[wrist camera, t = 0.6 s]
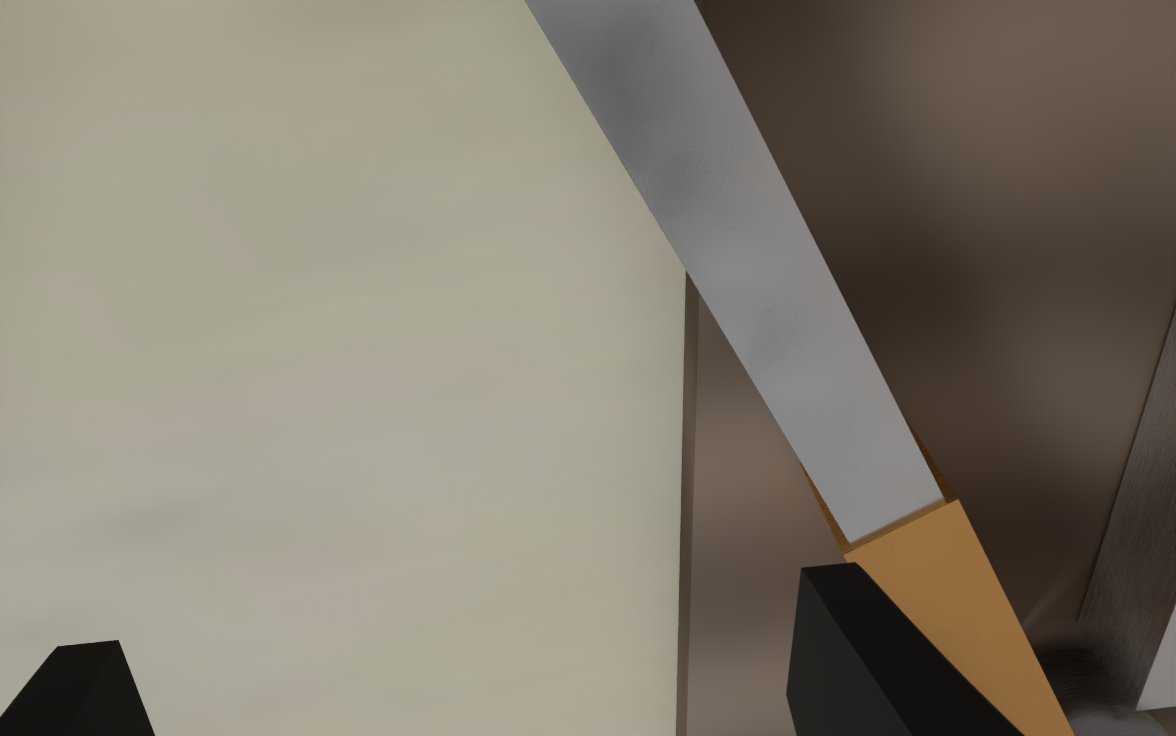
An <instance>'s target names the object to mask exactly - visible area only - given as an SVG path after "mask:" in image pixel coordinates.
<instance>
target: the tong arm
mask: <svg viewBox="0 0 1176 736" xmlns="http://www.w3.org/2000/svg"><path fill="white" fill-rule="evenodd" d="M525 2H526V3H527V5H528V7H529V8H530V10H531V12H532V13H533V15H534V17H535V18H536V20H537V22H538V23H539V25H540V27H541V28H542V30H543V32H544V33H545V35H546V37H547V38H548V40H549V42H550V43H551V45H552V47H553V48H554V50H555V52H556V53H557V55H558V57H559V58H560V60H561V62H562V63H563V65H564V67H565V68H566V70H567V72H568V73H569V75H570V77H571V78H572V80H573V82H574V83H575V85H576V87H577V88H578V90H579V92H580V94H581V95H582V97H583V99H584V100H585V102H586V104H587V105H588V107H589V109H590V110H591V112H592V114H593V115H594V117H595V119H596V120H597V122H598V124H599V125H600V127H601V129H602V130H603V132H604V134H605V135H606V137H607V139H608V140H609V142H610V144H611V145H612V147H613V149H614V150H615V152H616V154H617V155H618V157H619V159H620V160H621V162H622V164H623V165H624V167H625V169H626V170H627V172H628V174H629V175H630V177H631V179H632V180H633V182H634V184H635V185H636V187H637V189H638V190H639V192H640V194H641V195H642V197H643V199H644V200H645V202H646V204H647V205H648V207H649V209H650V211H651V212H652V214H653V216H654V217H655V219H656V221H657V222H658V224H659V226H660V227H661V229H662V231H663V232H664V234H665V236H666V237H667V239H668V241H669V242H670V244H671V246H672V247H673V249H674V251H675V252H676V254H677V256H678V257H679V259H680V261H681V262H682V264H683V266H684V267H685V269H686V271H687V272H688V274H689V276H690V277H691V279H692V281H693V282H694V284H695V286H696V287H697V289H698V291H699V292H700V294H701V296H702V297H703V299H704V301H705V302H706V304H707V306H708V307H709V309H710V311H711V312H712V314H713V316H714V317H715V319H716V321H717V322H718V324H719V326H720V328H721V329H722V331H723V333H724V334H725V336H726V338H727V339H728V341H729V343H730V344H731V346H732V348H733V349H734V351H735V353H736V354H737V356H738V358H739V359H740V361H741V363H742V364H743V366H744V368H745V369H746V371H747V373H748V374H749V376H750V378H751V379H752V381H753V383H754V384H755V386H756V388H757V389H758V391H759V393H760V394H761V396H762V398H763V399H764V401H765V403H766V404H767V406H768V408H769V409H770V411H771V413H772V414H773V416H774V418H775V419H776V421H777V423H778V424H779V426H780V428H781V429H782V431H783V433H784V434H785V436H786V438H787V439H788V441H789V443H790V445H791V446H792V448H793V450H794V451H795V453H796V455H797V456H798V458H799V460H800V462H799V463H800V465H801V467H802V469H803V471H804V473H805V476H806V478H807V480H808V482H809V484H810V486H811V488H812V490H813V493H814V495H815V497H816V499H817V501H818V503H819V505H820V507H821V509H822V512H823V514H824V516H825V518H826V520H827V522H828V524H829V526H830V529H831V531H832V533H833V535H834V537H835V539H836V541H837V543H838V546H839V548H840V550H841V552H842V554H843V556H844V558H845V559H846V561H847V563H850V562H856V563H857V564H858V565H859V566H861V567H862V568H863V569H864V570H865V571H866V572H867V573H868V574H869V575H870V577H871V578H872V579H873V580H874V581H875V582H876V583H877V584H878V585H879V586H880V588H881V589H882V590H883V591H884V592H885V593H886V594H887V595H888V596H889V597H890V599H891V600H892V601H893V602H894V603H895V604H896V605H897V606H898V607H899V608H900V609H901V611H902V612H903V613H904V614H905V615H906V616H907V617H908V618H909V619H910V620H911V621H912V622H913V623H914V625H915V626H916V627H917V628H918V629H919V630H920V631H921V632H922V633H923V634H924V635H925V636H926V637H927V638H928V639H929V640H930V641H931V643H932V644H933V645H934V646H935V647H936V648H937V649H938V650H939V651H940V652H941V653H942V654H943V655H944V656H945V657H946V658H947V659H948V660H949V661H950V662H951V663H952V664H953V665H954V666H955V667H956V669H957V670H958V671H959V672H960V673H961V674H962V675H963V676H964V677H965V678H966V679H967V680H968V681H969V682H970V683H971V684H972V685H973V686H974V687H975V688H976V689H977V690H978V691H980V692H981V693H982V694H983V695H984V696H985V697H986V698H987V699H988V700H989V701H990V702H991V703H992V704H993V705H994V706H995V707H996V708H997V709H998V710H999V711H1000V712H1001V713H1002V714H1003V715H1004V716H1005V717H1006V718H1007V719H1008V720H1009V721H1010V722H1011V723H1012V724H1013V725H1014V726H1015V727H1016V728H1017V729H1018V730H1020V731H1021V732H1022V733H1023V734H1024V735H1025V736H1169V735H1168V733H1167V732H1166V731H1165V729H1164V728H1163V726H1162V725H1161V723H1160V722H1159V721H1158V719H1157V718H1156V716H1155V715H1154V713H1153V712H1152V711H1151V709H1149V710H1141V711H1134V709H1133V708H1132V706H1131V705H1130V703H1129V702H1128V700H1127V699H1126V697H1125V696H1124V694H1123V693H1122V692H1121V690H1120V689H1119V687H1118V686H1117V684H1116V683H1115V681H1114V680H1113V678H1112V677H1111V675H1110V674H1109V673H1108V671H1107V670H1106V668H1105V667H1104V665H1103V664H1102V662H1101V661H1100V659H1099V658H1098V657H1097V655H1096V654H1095V652H1094V651H1093V649H1089V648H1068V649H1061V650H1056V651H1052V652H1048V653H1045V654H1042V655H1039V656H1037V657H1036V656H1035V654H1034V652H1033V650H1032V648H1031V646H1030V644H1029V642H1028V640H1027V638H1026V635H1025V633H1024V631H1023V629H1022V627H1021V625H1020V623H1019V621H1018V619H1017V617H1016V615H1015V613H1014V611H1013V609H1012V607H1011V605H1010V603H1009V601H1008V599H1007V597H1006V595H1005V593H1004V591H1003V589H1002V587H1001V585H1000V583H999V581H998V579H997V577H996V575H995V573H994V570H993V568H992V566H991V564H990V562H989V560H988V558H987V556H986V554H985V552H984V550H983V548H982V546H981V544H980V542H979V540H978V538H977V536H976V534H975V532H974V530H973V528H972V526H971V524H970V522H969V520H968V518H967V516H966V514H965V512H964V510H963V508H962V505H961V503H960V501H959V499H958V498H957V496H956V495H955V493H954V492H953V490H952V488H951V487H950V485H949V484H948V482H947V481H946V479H945V478H944V476H943V475H942V473H941V471H940V470H939V468H938V467H937V465H936V464H935V462H934V461H933V459H932V458H931V456H930V454H929V453H928V451H927V450H926V448H925V447H924V445H923V444H922V442H921V440H920V439H919V437H918V436H917V434H916V433H915V431H914V430H913V428H912V427H911V425H910V423H909V422H908V420H907V419H906V417H905V416H904V414H903V413H902V411H901V410H900V409H899V407H898V405H897V404H896V402H895V400H894V398H893V396H892V394H891V392H890V390H889V388H888V386H887V384H886V382H885V380H884V378H883V376H882V374H881V372H880V370H879V368H878V366H877V364H876V362H875V360H874V358H873V356H872V354H871V352H870V350H869V348H868V346H867V344H866V342H865V340H864V338H863V336H862V334H861V332H860V330H859V328H858V326H857V324H856V322H855V320H854V318H853V316H852V314H851V312H850V310H849V308H848V306H847V304H846V302H845V300H844V298H843V296H842V294H841V292H840V290H839V288H838V286H837V284H836V282H835V280H834V278H833V276H832V274H831V272H830V270H829V268H828V266H827V264H826V262H825V260H824V258H823V256H822V254H821V252H820V250H819V248H818V246H817V244H816V242H815V241H814V239H813V237H812V235H811V233H810V231H809V229H808V227H807V225H806V223H805V221H804V219H803V217H802V215H801V213H800V211H799V209H798V207H797V205H796V203H795V201H794V199H793V197H792V195H791V193H790V191H789V189H788V187H787V185H786V183H785V181H784V179H783V177H782V175H781V173H780V171H779V169H778V167H777V165H776V163H775V161H774V159H773V157H772V155H771V153H770V151H769V149H768V147H767V145H766V143H765V141H764V139H763V137H762V135H761V133H760V131H759V129H758V127H757V125H756V123H755V121H754V119H753V117H752V115H751V113H750V111H749V109H748V107H747V105H746V103H745V101H744V99H743V97H742V95H741V93H740V91H739V89H738V87H737V85H736V83H735V81H734V79H733V78H732V76H731V74H730V72H729V70H728V68H727V66H726V64H725V62H724V60H723V58H722V56H721V54H720V52H719V50H718V48H717V46H716V44H715V42H714V40H713V38H712V36H711V34H710V32H709V30H708V28H707V26H706V24H705V22H704V20H703V18H702V16H701V14H700V12H699V10H698V8H697V6H696V4H695V2H694V0H525Z"/></svg>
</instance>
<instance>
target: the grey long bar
mask: <svg viewBox="0 0 1176 736" xmlns="http://www.w3.org/2000/svg"><path fill="white" fill-rule="evenodd" d="M1076 626H1077V627H1078V629H1079V630H1080V632H1081V633H1082V635H1083V636H1084V638H1085V639H1086V640H1087V642H1088V643H1089V645H1090V646H1091V648H1092V649H1093V651H1094V652H1095V654H1096V655H1097V657H1098V658H1099V659H1100V661H1101V662H1102V664H1103V665H1104V667H1105V668H1106V670H1107V671H1108V673H1109V674H1110V675H1111V677H1112V678H1113V680H1114V681H1115V683H1116V684H1117V686H1118V687H1119V689H1120V690H1121V692H1122V693H1123V694H1124V696H1125V697H1126V699H1127V700H1128V702H1129V703H1130V705H1131V706H1132V708H1133V709H1134V711H1141V710H1149V709H1157V708H1165V707H1173V706H1176V310H1175V313H1174V316H1173V319H1172V322H1171V326H1170V329H1169V332H1168V335H1167V338H1166V342H1165V345H1164V348H1163V351H1162V354H1161V358H1160V361H1159V364H1158V367H1157V370H1156V373H1155V377H1154V380H1153V383H1152V386H1151V389H1150V393H1149V396H1148V399H1147V402H1146V405H1145V409H1144V412H1143V415H1142V418H1141V421H1140V424H1139V428H1138V431H1137V434H1136V437H1135V440H1134V444H1133V447H1132V450H1131V453H1130V456H1129V460H1128V463H1127V466H1126V469H1125V472H1124V475H1123V479H1122V482H1121V485H1120V488H1119V491H1118V495H1117V498H1116V501H1115V504H1114V507H1113V511H1112V514H1111V517H1110V520H1109V523H1108V526H1107V530H1106V533H1105V536H1104V539H1103V542H1102V546H1101V549H1100V552H1099V555H1098V558H1097V562H1096V565H1095V568H1094V571H1093V574H1092V577H1091V581H1090V584H1089V587H1088V590H1087V593H1086V597H1085V600H1084V603H1083V606H1082V609H1081V613H1080V616H1079V619H1078V622H1077V625H1076Z"/></svg>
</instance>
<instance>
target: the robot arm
mask: <svg viewBox="0 0 1176 736" xmlns="http://www.w3.org/2000/svg"><path fill="white" fill-rule="evenodd" d="M786 696H787V700H788V704H789V708H790V712H791V716H792V720H793V724H794V727H795V731H796V735H797V736H1025V735H1024V734H1023V733H1022V732H1021V731H1020V730H1018V729H1017V728H1016V727H1015V726H1014V725H1013V724H1012V723H1011V722H1010V721H1009V720H1008V719H1007V718H1006V717H1005V716H1004V715H1003V714H1002V713H1001V712H1000V711H999V710H998V709H997V708H996V707H995V706H994V705H993V704H992V703H991V702H990V701H989V700H988V699H987V698H986V697H985V696H984V695H983V694H982V693H981V692H980V691H978V690H977V689H976V688H975V687H974V686H973V685H972V684H971V683H970V682H969V681H968V680H967V679H966V678H965V677H964V676H963V675H962V674H961V673H960V672H959V671H958V670H957V669H956V667H955V666H954V665H953V664H952V663H951V662H950V661H949V660H948V659H947V658H946V657H945V656H944V655H943V654H942V653H941V652H940V651H939V650H938V649H937V648H936V647H935V646H934V645H933V644H932V643H931V641H930V640H929V639H928V638H927V637H926V636H925V635H924V634H923V633H922V632H921V631H920V630H919V629H918V628H917V627H916V626H915V625H914V623H913V622H912V621H911V620H910V619H909V618H908V617H907V616H906V615H905V614H904V613H903V612H902V611H901V609H900V608H899V607H898V606H897V605H896V604H895V603H894V602H893V601H892V600H891V599H890V597H889V596H888V595H887V594H886V593H885V592H884V591H883V590H882V589H881V588H880V586H879V585H878V584H877V583H876V582H875V581H874V580H873V579H872V578H871V577H870V575H869V574H868V573H867V572H866V571H865V570H864V569H863V568H862V567H861V566H859V565H858V564H857V563H856V562H850V563H841V564H831V565H822V566H812V567H803V568H801V572H800V580H799V589H798V597H797V606H796V614H795V622H794V631H793V639H792V648H791V656H790V665H789V673H788V682H787V690H786ZM0 736H155V734H154V732H153V729H152V726H151V724H150V721H149V718H148V716H147V713H146V711H145V708H144V705H143V703H142V700H141V698H140V695H139V692H138V690H137V687H136V684H135V682H134V679H133V677H132V674H131V671H130V669H129V666H128V664H127V661H126V658H125V656H124V653H123V650H122V648H121V645H120V643H119V640H114V641H105V642H95V643H86V644H76V645H67V646H57V648H56V649H55V650H54V651H53V652H52V653H51V654H50V655H49V656H48V658H47V659H46V660H45V661H44V663H43V664H42V665H41V666H40V668H39V669H38V670H37V671H36V672H35V674H34V675H33V676H32V677H31V679H30V680H29V681H28V682H27V684H26V685H25V686H24V688H23V689H22V690H21V691H20V693H19V694H18V695H17V696H16V698H15V699H14V700H13V701H12V703H11V704H10V705H9V707H8V708H7V709H6V710H5V712H4V713H3V714H2V715H1V717H0Z"/></svg>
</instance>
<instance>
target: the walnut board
mask: <svg viewBox="0 0 1176 736" xmlns="http://www.w3.org/2000/svg"><path fill="white" fill-rule="evenodd" d="M694 2H695V4H696V6H697V8H698V10H699V12H700V14H701V16H702V18H703V20H704V22H705V24H706V26H707V28H708V30H709V32H710V34H711V36H712V38H713V40H714V42H715V44H716V46H717V48H718V50H719V52H720V54H721V56H722V58H723V60H724V62H725V64H726V66H727V68H728V70H729V72H730V74H731V76H732V78H733V79H734V81H735V83H736V85H737V87H738V89H739V91H740V93H741V95H742V97H743V99H744V101H745V103H746V105H747V107H748V109H749V111H750V113H751V115H752V117H753V119H754V121H755V123H756V125H757V127H758V129H759V131H760V133H761V135H762V137H763V139H764V141H765V143H766V145H767V147H768V149H769V151H770V153H771V155H772V157H773V159H774V161H775V163H776V165H777V167H778V169H779V171H780V173H781V175H782V177H783V179H784V181H785V183H786V185H787V187H788V189H789V191H790V193H791V195H792V197H793V199H794V201H795V203H796V205H797V207H798V209H799V211H800V213H801V215H802V217H803V219H804V221H805V223H806V225H807V227H808V229H809V231H810V233H811V235H812V237H813V239H814V241H815V242H816V244H817V246H818V248H819V250H820V252H821V254H822V256H823V258H824V260H825V262H826V264H827V266H828V268H829V270H830V272H831V274H832V276H833V278H834V280H835V282H836V284H837V286H838V288H839V290H840V292H841V294H842V296H843V298H844V300H845V302H846V304H847V306H848V308H849V310H850V312H851V314H852V316H853V318H854V320H855V322H856V324H857V326H858V328H859V330H860V332H861V334H862V336H863V338H864V340H865V342H866V344H867V346H868V348H869V350H870V352H871V354H872V356H873V358H874V360H875V362H876V364H877V366H878V368H879V370H880V372H881V374H882V376H883V378H884V380H885V382H886V384H887V386H888V388H889V390H890V392H891V394H892V396H893V398H894V400H895V402H896V404H897V405H898V407H899V409H900V410H901V411H902V413H903V414H904V416H905V417H906V419H907V420H908V422H909V423H910V425H911V427H912V428H913V430H914V431H915V433H916V434H917V436H918V437H919V439H920V440H921V442H922V444H923V445H924V447H925V448H926V450H927V451H928V453H929V454H930V456H931V458H932V459H933V461H934V462H935V464H936V465H937V467H938V468H939V470H940V471H941V473H942V475H943V476H944V478H945V479H946V481H947V482H948V484H949V485H950V487H951V488H952V490H953V492H954V493H955V495H956V496H957V498H958V499H959V501H960V503H961V505H962V508H963V510H964V512H965V514H966V516H967V518H968V520H969V522H970V524H971V526H972V528H973V530H974V532H975V534H976V536H977V538H978V540H979V542H980V544H981V546H982V548H983V550H984V552H985V554H986V556H987V558H988V560H989V562H990V564H991V566H992V568H993V570H994V573H995V575H996V577H997V579H998V581H999V583H1000V585H1001V587H1002V589H1003V591H1004V593H1005V595H1006V597H1007V599H1008V601H1009V603H1010V605H1011V607H1012V609H1013V611H1014V613H1015V615H1016V617H1017V619H1018V621H1019V623H1020V625H1021V627H1022V629H1023V631H1024V633H1025V635H1026V638H1027V640H1028V642H1029V644H1030V646H1031V648H1032V650H1033V652H1034V654H1035V656H1036V657H1037V656H1039V655H1042V654H1045V653H1048V652H1052V651H1056V650H1061V649H1068V648H1089V649H1092V648H1091V646H1090V645H1089V643H1088V642H1087V640H1086V639H1085V638H1084V636H1083V635H1082V633H1081V632H1080V630H1079V629H1078V627H1077V626H1076V625H1077V622H1078V619H1079V616H1080V613H1081V609H1082V606H1083V603H1084V600H1085V597H1086V593H1087V590H1088V587H1089V584H1090V581H1091V577H1092V574H1093V571H1094V568H1095V565H1096V562H1097V558H1098V555H1099V552H1100V549H1101V546H1102V542H1103V539H1104V536H1105V533H1106V530H1107V526H1108V523H1109V520H1110V517H1111V514H1112V511H1113V507H1114V504H1115V501H1116V498H1117V495H1118V491H1119V488H1120V485H1121V482H1122V479H1123V475H1124V472H1125V469H1126V466H1127V463H1128V460H1129V456H1130V453H1131V450H1132V447H1133V444H1134V440H1135V437H1136V434H1137V431H1138V428H1139V424H1140V421H1141V418H1142V415H1143V412H1144V409H1145V405H1146V402H1147V399H1148V396H1149V393H1150V389H1151V386H1152V383H1153V380H1154V377H1155V373H1156V370H1157V367H1158V364H1159V361H1160V358H1161V354H1162V351H1163V348H1164V345H1165V342H1166V338H1167V335H1168V332H1169V329H1170V326H1171V322H1172V319H1173V316H1174V313H1175V310H1176V0H694ZM799 462H800V460H799V458H798V456H797V455H796V453H795V451H794V450H793V448H792V446H791V445H790V443H789V441H788V439H787V438H786V436H785V434H784V433H783V431H782V429H781V428H780V426H779V424H778V423H777V421H776V419H775V418H774V416H773V414H772V413H771V411H770V409H769V408H768V406H767V404H766V403H765V401H764V399H763V398H762V396H761V394H760V393H759V391H758V389H757V388H756V386H755V384H754V383H753V381H752V379H751V378H750V376H749V374H748V373H747V371H746V369H745V368H744V366H743V364H742V363H741V361H740V359H739V358H738V356H737V354H736V353H735V351H734V349H733V348H732V346H731V344H730V343H729V341H728V339H727V338H726V336H725V334H724V333H723V331H722V329H721V328H720V326H719V324H718V322H717V321H716V319H715V317H714V316H713V314H712V312H711V311H710V309H709V307H708V306H707V304H706V302H705V301H704V299H703V297H702V296H701V294H700V292H699V291H698V289H697V287H696V286H695V284H694V282H693V281H692V279H691V277H690V276H689V274H688V272H687V271H686V296H685V343H684V390H683V437H682V484H681V532H680V579H679V626H678V673H677V720H676V736H797V735H796V731H795V727H794V724H793V720H792V716H791V712H790V708H789V704H788V700H787V696H786V690H787V682H788V673H789V665H790V656H791V648H792V639H793V631H794V622H795V614H796V606H797V597H798V589H799V580H800V572H801V568H803V567H812V566H822V565H831V564H841V563H847V561H846V559H845V558H844V556H843V554H842V552H841V550H840V548H839V546H838V543H837V541H836V539H835V537H834V535H833V533H832V531H831V529H830V526H829V524H828V522H827V520H826V518H825V516H824V514H823V512H822V509H821V507H820V505H819V503H818V501H817V499H816V497H815V495H814V493H813V490H812V488H811V486H810V484H809V482H808V480H807V478H806V476H805V473H804V471H803V469H802V467H801V465H800V463H799ZM1151 711H1152V712H1153V713H1154V715H1155V716H1156V718H1157V719H1158V721H1159V722H1160V723H1161V725H1162V726H1163V728H1164V729H1165V731H1166V732H1167V733H1168V735H1169V736H1176V706H1173V707H1165V708H1157V709H1151Z"/></svg>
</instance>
